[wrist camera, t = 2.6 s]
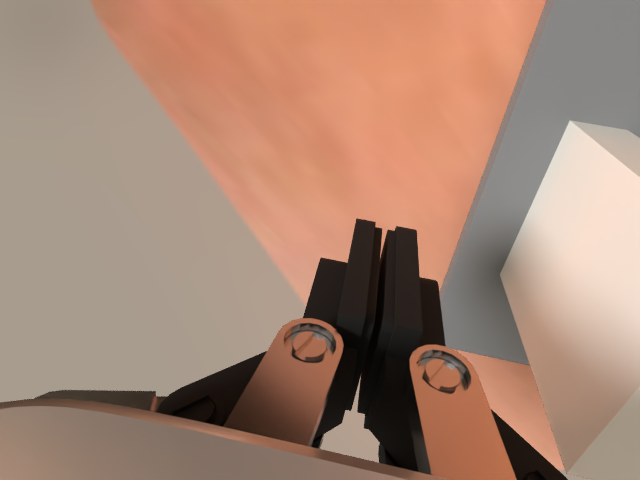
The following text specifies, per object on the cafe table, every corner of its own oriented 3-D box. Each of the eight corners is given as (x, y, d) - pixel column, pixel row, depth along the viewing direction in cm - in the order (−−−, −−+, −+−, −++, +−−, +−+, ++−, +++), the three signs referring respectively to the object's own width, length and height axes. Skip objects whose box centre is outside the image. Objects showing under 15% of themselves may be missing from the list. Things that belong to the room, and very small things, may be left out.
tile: (636, 131, 15) (885, 289, 7) (552, 285, 18) (655, 494, 11) (569, 120, 15) (744, 262, 7) (499, 274, 19) (566, 474, 11)
